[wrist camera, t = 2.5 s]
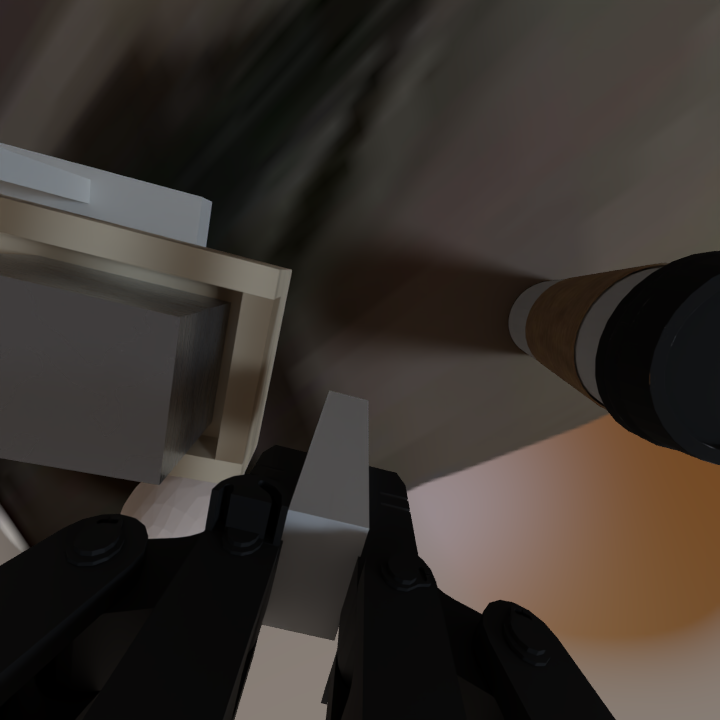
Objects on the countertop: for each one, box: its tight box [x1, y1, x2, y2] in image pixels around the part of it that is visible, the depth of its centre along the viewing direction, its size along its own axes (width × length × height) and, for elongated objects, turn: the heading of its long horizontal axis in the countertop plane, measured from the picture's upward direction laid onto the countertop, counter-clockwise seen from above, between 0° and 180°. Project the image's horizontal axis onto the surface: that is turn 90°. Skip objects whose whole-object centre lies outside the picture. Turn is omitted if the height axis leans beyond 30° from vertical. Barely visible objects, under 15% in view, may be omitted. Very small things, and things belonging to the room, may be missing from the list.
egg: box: [121, 475, 217, 539], centre depth 25 cm, size 8×8×11 cm
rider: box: [0, 253, 231, 485], centre depth 13 cm, size 8×6×5 cm
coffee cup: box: [508, 251, 720, 465], centre depth 19 cm, size 8×8×15 cm
